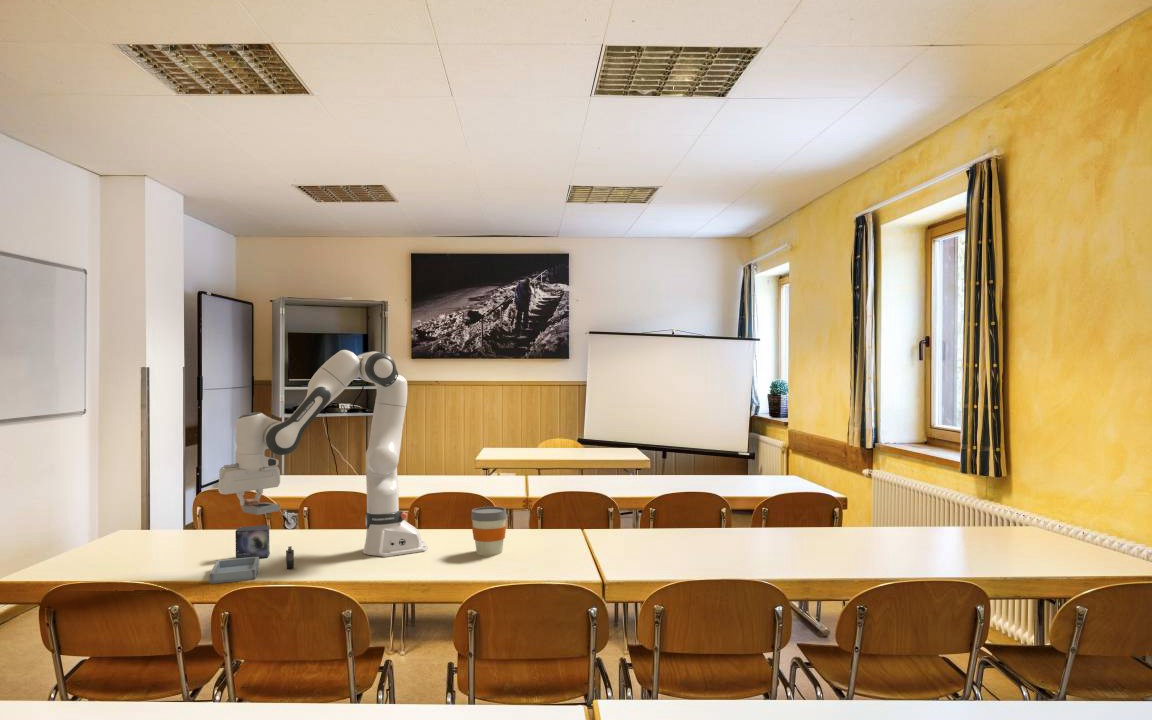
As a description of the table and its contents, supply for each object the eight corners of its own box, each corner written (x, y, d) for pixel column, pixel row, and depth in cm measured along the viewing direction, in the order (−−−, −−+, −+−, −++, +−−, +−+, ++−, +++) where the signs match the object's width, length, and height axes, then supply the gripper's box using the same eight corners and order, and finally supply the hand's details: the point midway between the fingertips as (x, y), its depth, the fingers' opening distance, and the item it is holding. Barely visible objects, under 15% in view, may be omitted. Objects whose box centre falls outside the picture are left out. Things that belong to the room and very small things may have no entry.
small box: (235, 561, 259) (234, 530, 259) (238, 556, 266) (237, 526, 266) (267, 558, 262) (267, 528, 262) (270, 554, 268) (269, 524, 269)
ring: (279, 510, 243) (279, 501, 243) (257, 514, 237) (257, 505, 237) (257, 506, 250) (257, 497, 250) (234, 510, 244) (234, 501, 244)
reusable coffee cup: (501, 557, 257) (500, 513, 258) (466, 556, 260) (465, 513, 260) (511, 548, 270) (511, 506, 270) (478, 547, 272) (477, 506, 272)
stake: (294, 567, 250) (293, 546, 250) (293, 569, 247) (293, 548, 247) (286, 567, 249) (286, 546, 249) (286, 570, 246) (285, 548, 246)
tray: (259, 565, 253) (259, 556, 253) (255, 579, 237) (255, 569, 237) (217, 569, 249) (216, 560, 249) (209, 583, 232) (209, 574, 232)
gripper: (225, 466, 235) (225, 510, 235) (283, 459, 252) (282, 500, 252) (214, 464, 239) (213, 508, 239) (271, 458, 256) (271, 499, 256)
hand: (249, 504), depth 246 cm, fingers closed on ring, 3 cm apart
